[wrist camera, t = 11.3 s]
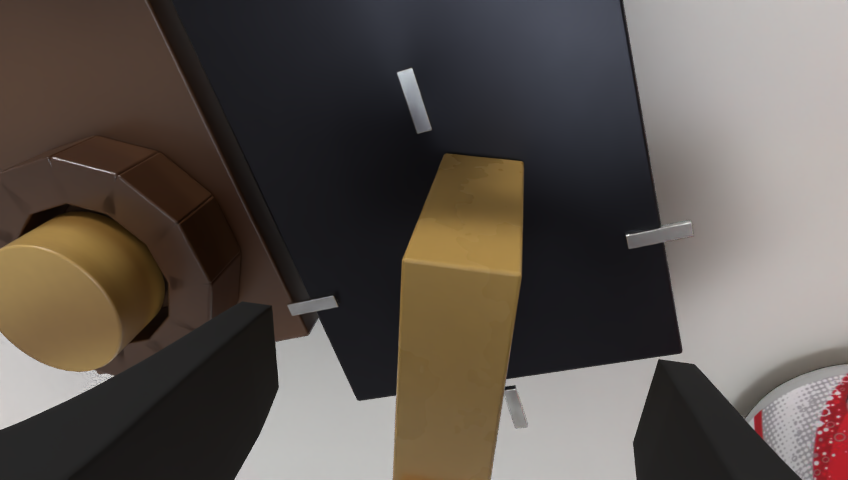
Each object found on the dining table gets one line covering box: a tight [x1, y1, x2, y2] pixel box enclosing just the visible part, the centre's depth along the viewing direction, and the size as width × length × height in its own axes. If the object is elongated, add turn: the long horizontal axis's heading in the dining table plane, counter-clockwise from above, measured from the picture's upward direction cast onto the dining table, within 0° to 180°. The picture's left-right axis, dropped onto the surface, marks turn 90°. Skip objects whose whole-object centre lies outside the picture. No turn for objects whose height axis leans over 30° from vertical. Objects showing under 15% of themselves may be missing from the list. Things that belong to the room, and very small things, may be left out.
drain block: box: [0, 0, 319, 376], centre depth 16 cm, size 11×8×4 cm
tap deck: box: [171, 0, 693, 429], centre depth 14 cm, size 18×10×3 cm, turn 18°
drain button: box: [0, 211, 165, 372], centre depth 15 cm, size 4×4×2 cm
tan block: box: [393, 153, 524, 480], centre depth 12 cm, size 6×2×5 cm, turn 177°
